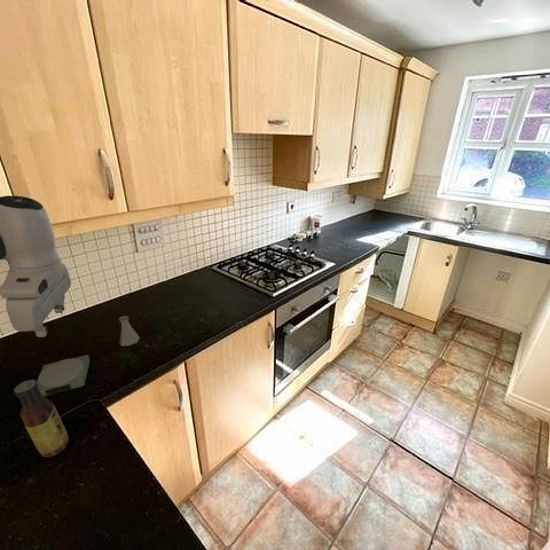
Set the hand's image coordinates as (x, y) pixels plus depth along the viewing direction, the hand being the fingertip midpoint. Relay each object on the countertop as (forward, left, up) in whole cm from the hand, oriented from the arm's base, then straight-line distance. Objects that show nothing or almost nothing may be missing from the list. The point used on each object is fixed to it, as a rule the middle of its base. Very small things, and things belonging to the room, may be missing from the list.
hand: (52, 322), depth 72 cm
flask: (+10, +31, -30) cm, 44 cm away
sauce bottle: (-6, -9, -30) cm, 32 cm away
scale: (-9, +18, -30) cm, 35 cm away
